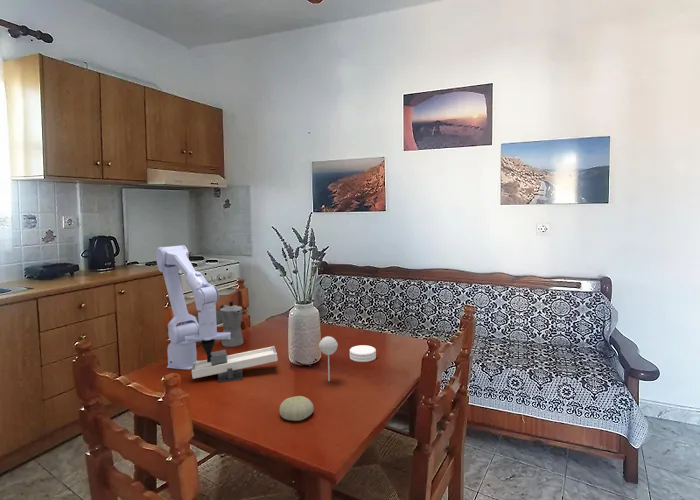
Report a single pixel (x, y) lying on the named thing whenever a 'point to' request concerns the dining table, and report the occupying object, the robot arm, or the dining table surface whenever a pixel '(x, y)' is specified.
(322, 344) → the lollipop
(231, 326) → the coffeepot
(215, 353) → the grey block
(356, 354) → the coaster
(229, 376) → the stand
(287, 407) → the sea urchin shell
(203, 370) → the beam
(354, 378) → the dining table surface
